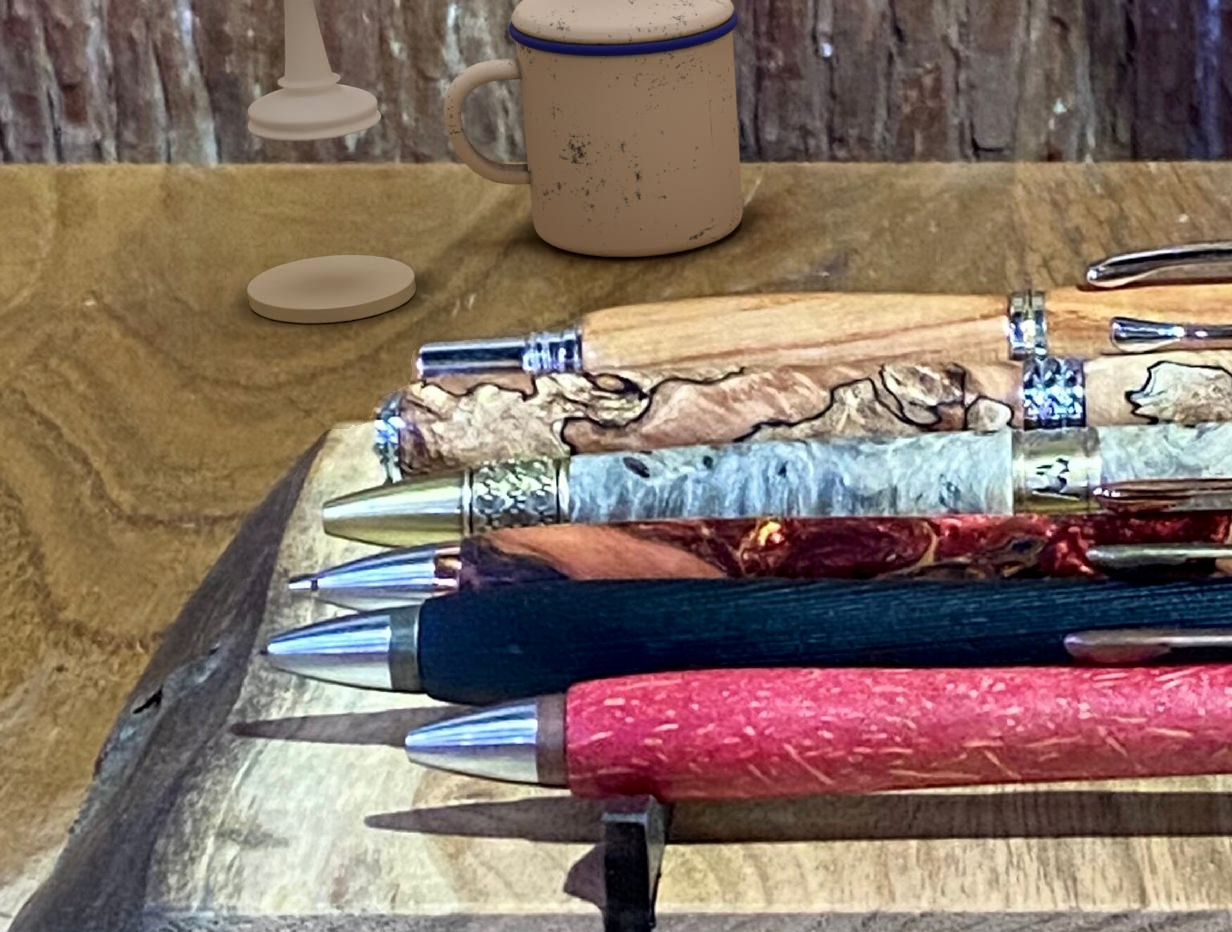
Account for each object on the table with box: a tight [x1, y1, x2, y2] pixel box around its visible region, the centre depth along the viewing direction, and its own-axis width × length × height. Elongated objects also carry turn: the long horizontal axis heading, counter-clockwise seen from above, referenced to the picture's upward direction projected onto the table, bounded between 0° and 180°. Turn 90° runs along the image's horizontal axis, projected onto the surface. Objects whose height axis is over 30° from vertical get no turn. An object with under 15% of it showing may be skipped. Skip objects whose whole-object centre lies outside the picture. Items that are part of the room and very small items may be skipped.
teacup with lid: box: [443, 0, 744, 258], centre depth 108 cm, size 12×9×12 cm
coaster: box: [246, 254, 417, 324], centre depth 104 cm, size 6×6×1 cm
